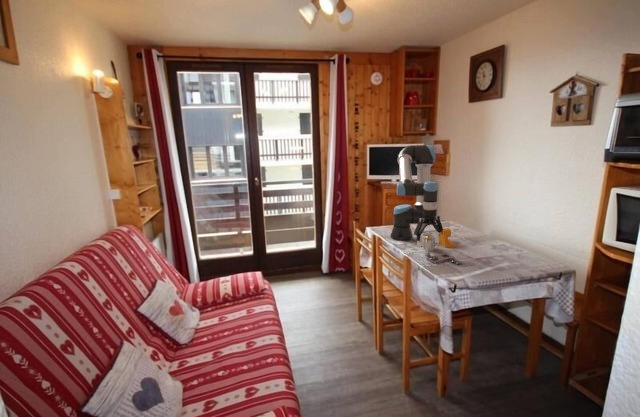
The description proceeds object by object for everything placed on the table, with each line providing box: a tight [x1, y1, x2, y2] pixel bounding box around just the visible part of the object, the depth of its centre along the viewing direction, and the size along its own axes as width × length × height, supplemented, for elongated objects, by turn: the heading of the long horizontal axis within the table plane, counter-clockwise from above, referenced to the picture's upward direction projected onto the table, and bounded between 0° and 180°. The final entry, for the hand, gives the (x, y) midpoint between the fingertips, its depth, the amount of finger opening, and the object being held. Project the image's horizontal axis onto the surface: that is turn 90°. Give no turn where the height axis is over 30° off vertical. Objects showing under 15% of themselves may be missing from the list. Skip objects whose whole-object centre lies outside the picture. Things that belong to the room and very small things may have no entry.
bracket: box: [438, 228, 457, 248], centre depth 206 cm, size 11×7×12 cm, turn 3°
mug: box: [421, 233, 437, 252], centre depth 201 cm, size 11×8×10 cm
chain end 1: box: [426, 252, 456, 265], centre depth 182 cm, size 15×7×2 cm, turn 115°
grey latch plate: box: [444, 256, 467, 267], centre depth 181 cm, size 15×7×2 cm, turn 25°
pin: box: [424, 236, 432, 258], centre depth 188 cm, size 4×4×13 cm
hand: (428, 244), depth 187 cm, fingers open, 13 cm apart
